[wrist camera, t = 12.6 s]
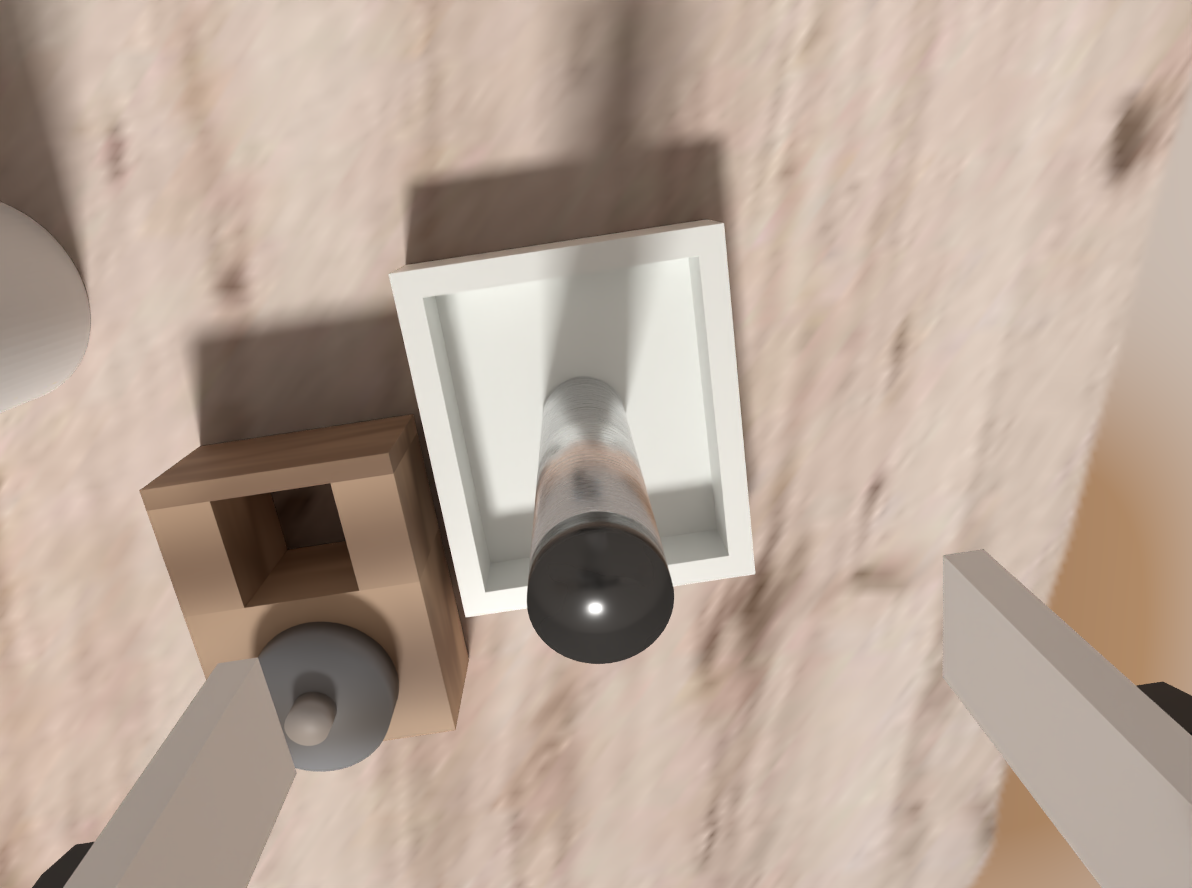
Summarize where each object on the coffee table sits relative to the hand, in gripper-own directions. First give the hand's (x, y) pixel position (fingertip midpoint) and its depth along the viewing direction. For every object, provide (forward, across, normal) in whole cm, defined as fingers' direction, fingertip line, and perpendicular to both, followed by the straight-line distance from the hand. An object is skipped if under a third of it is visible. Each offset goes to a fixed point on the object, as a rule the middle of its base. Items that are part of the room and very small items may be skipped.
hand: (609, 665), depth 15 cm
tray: (+19, 0, -1) cm, 19 cm away
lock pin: (+18, 0, -1) cm, 18 cm away
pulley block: (+19, -12, -6) cm, 23 cm away
